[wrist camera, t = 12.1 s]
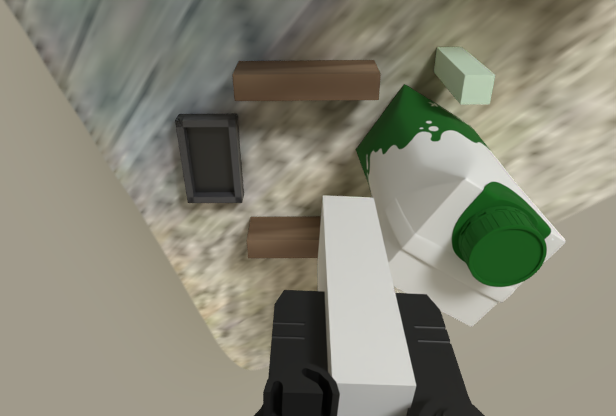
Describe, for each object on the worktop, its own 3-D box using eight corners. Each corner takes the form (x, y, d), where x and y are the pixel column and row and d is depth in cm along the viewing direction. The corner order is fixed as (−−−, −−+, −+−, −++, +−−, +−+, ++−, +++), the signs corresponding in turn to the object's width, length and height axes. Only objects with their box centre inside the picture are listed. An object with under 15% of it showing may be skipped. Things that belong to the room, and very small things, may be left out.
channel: (238, 60, 39) (232, 74, 36) (373, 60, 39) (380, 73, 36) (252, 233, 48) (248, 258, 45) (362, 233, 48) (367, 257, 45)
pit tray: (179, 114, 42) (175, 120, 40) (237, 113, 42) (234, 120, 40) (191, 194, 46) (187, 203, 44) (244, 194, 46) (242, 202, 44)
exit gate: (437, 47, 39) (465, 75, 32) (461, 46, 39) (495, 74, 32) (411, 241, 49) (429, 294, 42) (431, 240, 49) (452, 294, 42)
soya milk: (481, 122, 42) (602, 263, 25) (416, 198, 46) (481, 364, 29) (402, 68, 40) (475, 183, 23) (340, 153, 44) (362, 306, 26)
